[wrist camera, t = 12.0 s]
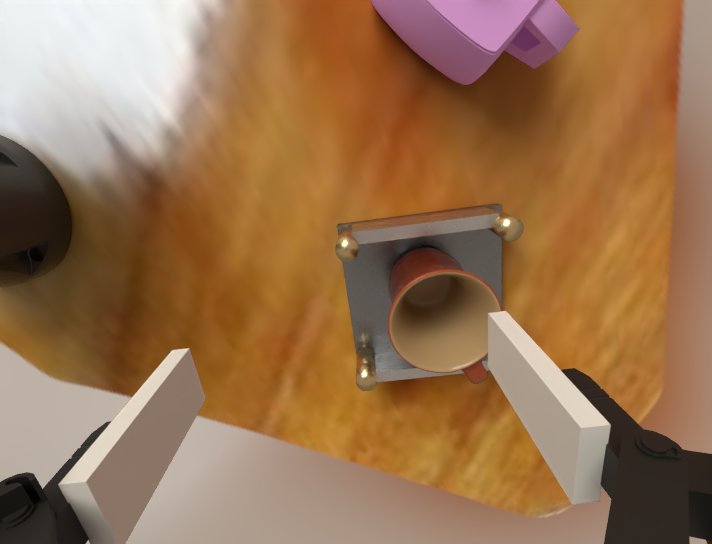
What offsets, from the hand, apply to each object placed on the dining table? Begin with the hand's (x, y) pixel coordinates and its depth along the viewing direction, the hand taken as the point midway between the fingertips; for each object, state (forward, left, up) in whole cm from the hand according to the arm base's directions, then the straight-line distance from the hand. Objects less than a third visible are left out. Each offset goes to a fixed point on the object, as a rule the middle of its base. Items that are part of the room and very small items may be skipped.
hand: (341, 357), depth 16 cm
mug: (+7, -6, -22) cm, 24 cm away
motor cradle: (+7, -6, -22) cm, 24 cm away
